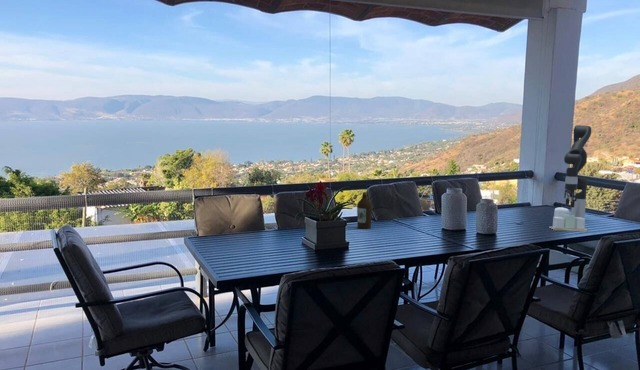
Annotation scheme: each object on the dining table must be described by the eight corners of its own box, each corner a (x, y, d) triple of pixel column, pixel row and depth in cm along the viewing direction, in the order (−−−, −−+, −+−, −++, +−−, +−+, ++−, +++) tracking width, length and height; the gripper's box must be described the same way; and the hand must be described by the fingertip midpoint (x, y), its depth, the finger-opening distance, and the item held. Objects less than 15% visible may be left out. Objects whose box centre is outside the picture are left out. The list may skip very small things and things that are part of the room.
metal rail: (551, 227, 347) (551, 226, 347) (583, 228, 346) (583, 227, 346) (553, 228, 343) (553, 227, 343) (586, 229, 342) (586, 228, 342)
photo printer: (552, 223, 367) (553, 207, 365) (555, 222, 370) (556, 206, 368) (566, 225, 359) (568, 208, 357) (569, 225, 362) (570, 208, 360)
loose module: (562, 227, 347) (563, 214, 346) (571, 227, 346) (572, 214, 345) (565, 228, 343) (565, 215, 342) (574, 228, 342) (575, 215, 341)
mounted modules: (552, 226, 348) (553, 216, 347) (580, 227, 347) (581, 217, 346) (556, 228, 342) (556, 218, 341) (584, 228, 341) (585, 218, 340)
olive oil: (361, 225, 354) (362, 191, 351) (374, 227, 348) (375, 192, 345) (353, 228, 345) (354, 192, 342) (366, 230, 339) (367, 194, 336)
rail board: (549, 227, 350) (549, 226, 350) (581, 228, 349) (581, 227, 349) (554, 230, 341) (554, 229, 340) (587, 231, 339) (588, 230, 339)
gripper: (581, 184, 333) (579, 208, 335) (572, 181, 347) (571, 204, 350) (570, 184, 334) (568, 207, 336) (561, 181, 348) (560, 204, 350)
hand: (569, 206), depth 343 cm, fingers open, 8 cm apart
